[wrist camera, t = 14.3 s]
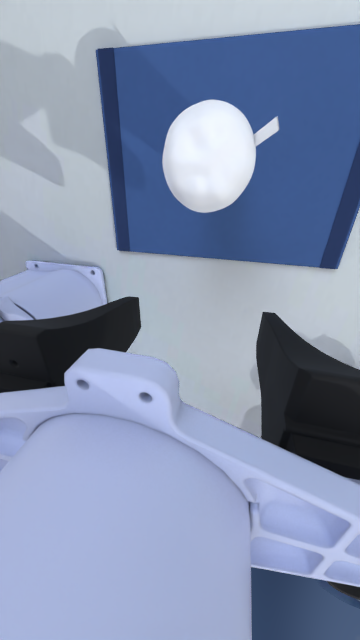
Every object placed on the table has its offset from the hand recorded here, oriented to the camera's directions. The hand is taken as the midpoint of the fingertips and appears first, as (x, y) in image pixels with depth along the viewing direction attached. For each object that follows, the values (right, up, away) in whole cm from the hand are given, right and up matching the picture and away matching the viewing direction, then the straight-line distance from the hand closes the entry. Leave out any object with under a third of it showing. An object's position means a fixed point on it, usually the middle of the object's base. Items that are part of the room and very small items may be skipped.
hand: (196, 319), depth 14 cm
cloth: (+3, +12, +5) cm, 13 cm away
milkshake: (+3, +12, +5) cm, 13 cm away
